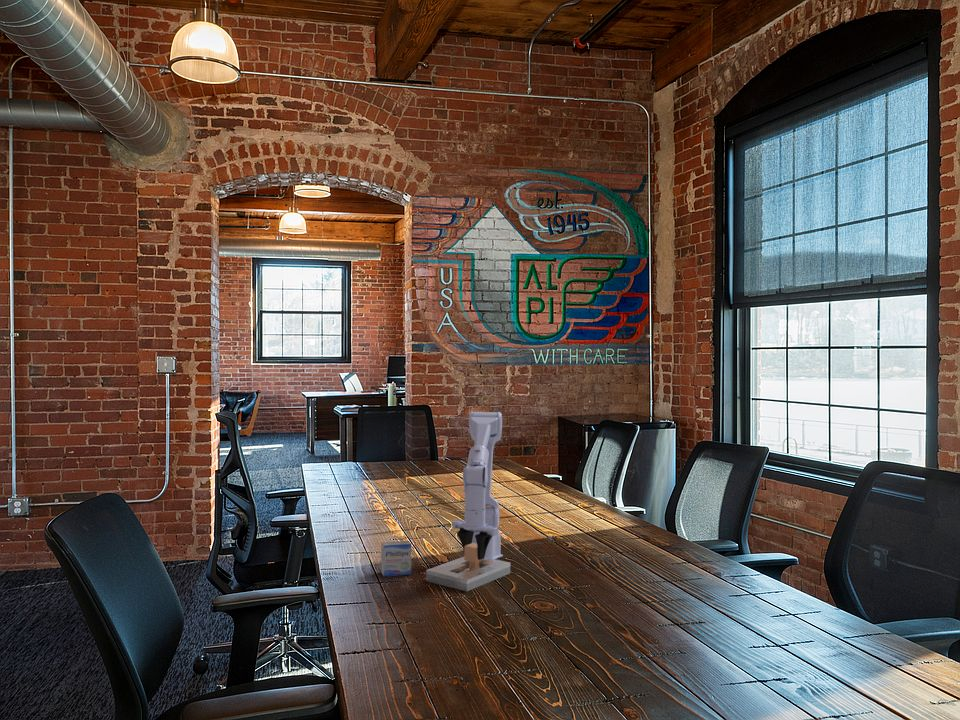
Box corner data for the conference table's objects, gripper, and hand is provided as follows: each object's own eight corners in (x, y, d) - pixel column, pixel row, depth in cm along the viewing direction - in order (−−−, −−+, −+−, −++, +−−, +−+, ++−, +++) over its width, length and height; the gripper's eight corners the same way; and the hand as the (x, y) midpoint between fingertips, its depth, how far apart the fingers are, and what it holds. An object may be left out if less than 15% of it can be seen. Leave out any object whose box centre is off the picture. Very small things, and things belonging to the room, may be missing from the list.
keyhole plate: (470, 564, 219) (470, 554, 219) (510, 573, 211) (510, 562, 211) (426, 581, 203) (426, 570, 203) (467, 591, 195) (467, 580, 195)
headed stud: (472, 570, 212) (472, 542, 212) (486, 573, 209) (487, 545, 209) (461, 574, 208) (461, 545, 208) (475, 578, 205) (476, 548, 205)
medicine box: (383, 577, 206) (383, 545, 206) (380, 572, 211) (381, 541, 211) (411, 575, 209) (411, 544, 208) (408, 570, 213) (408, 539, 213)
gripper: (445, 507, 210) (445, 556, 210) (487, 514, 201) (487, 565, 201) (461, 503, 215) (460, 550, 216) (502, 510, 207) (502, 559, 207)
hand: (474, 557), depth 209 cm, fingers closed on headed stud, 4 cm apart
